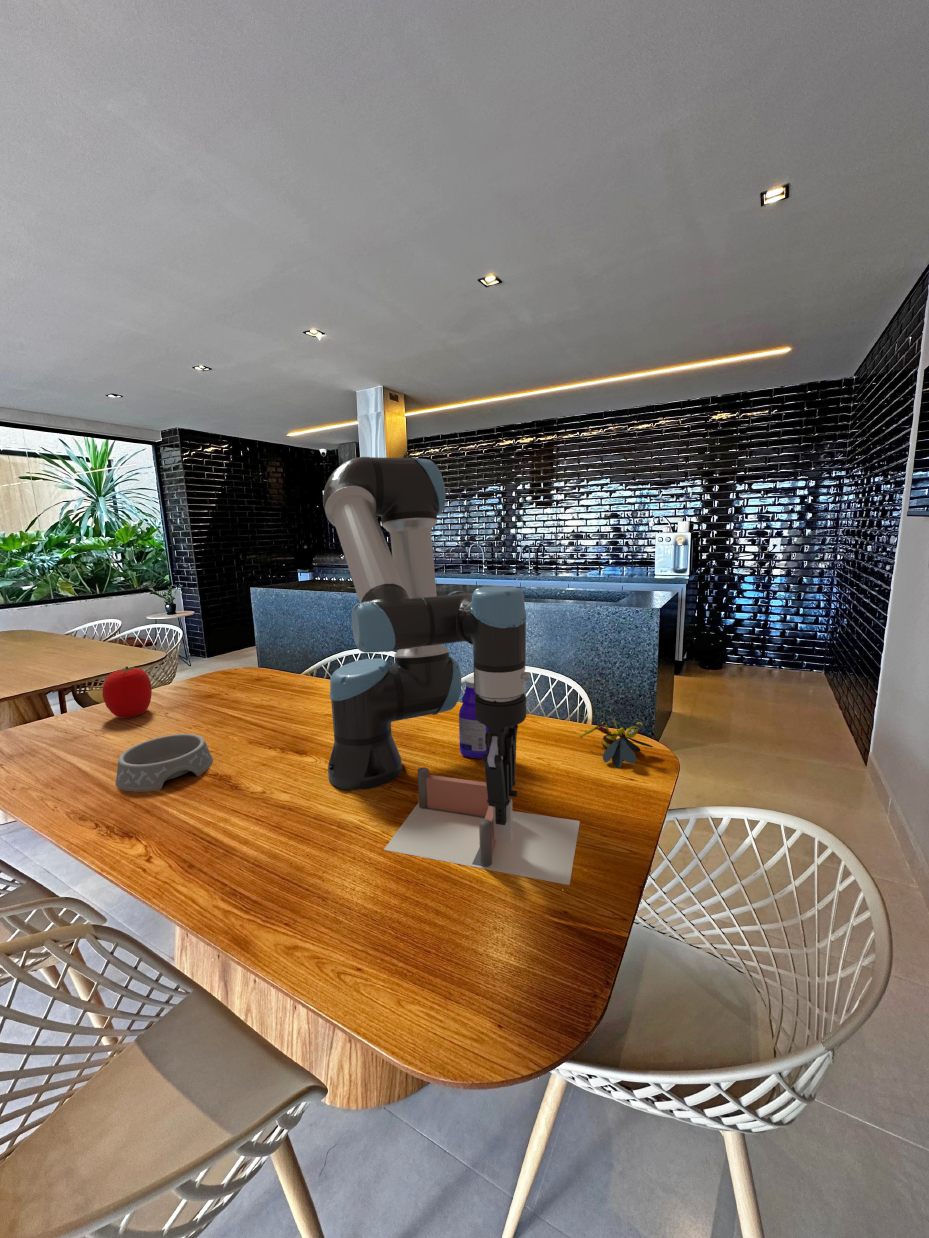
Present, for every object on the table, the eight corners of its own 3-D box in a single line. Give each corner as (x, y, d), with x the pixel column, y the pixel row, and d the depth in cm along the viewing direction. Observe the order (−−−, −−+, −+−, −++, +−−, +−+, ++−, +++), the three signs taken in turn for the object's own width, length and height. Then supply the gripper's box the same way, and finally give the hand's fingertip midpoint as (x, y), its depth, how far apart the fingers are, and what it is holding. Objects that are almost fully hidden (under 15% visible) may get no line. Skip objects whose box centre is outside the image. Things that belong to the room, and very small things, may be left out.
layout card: (383, 851, 80) (383, 849, 80) (422, 799, 95) (422, 796, 95) (569, 887, 71) (569, 884, 71) (579, 823, 86) (579, 820, 86)
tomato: (137, 723, 136) (129, 672, 134) (95, 724, 137) (87, 673, 134) (165, 706, 149) (158, 660, 146) (127, 707, 149) (119, 660, 146)
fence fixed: (417, 807, 92) (415, 771, 90) (421, 801, 94) (420, 766, 92) (503, 821, 87) (503, 783, 85) (506, 814, 89) (505, 778, 87)
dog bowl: (106, 774, 109) (102, 751, 108) (196, 745, 122) (193, 724, 121) (128, 802, 97) (124, 776, 96) (225, 767, 111) (222, 744, 110)
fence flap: (492, 819, 87) (492, 784, 86) (503, 821, 86) (502, 785, 85) (479, 865, 75) (478, 825, 74) (490, 867, 75) (490, 826, 74)
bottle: (495, 750, 114) (494, 676, 111) (488, 762, 109) (486, 684, 106) (465, 746, 117) (462, 674, 113) (456, 757, 112) (454, 682, 108)
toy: (591, 707, 119) (654, 716, 109) (594, 740, 120) (656, 753, 110) (565, 722, 111) (631, 734, 101) (568, 758, 112) (633, 773, 102)
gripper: (516, 711, 67) (518, 869, 71) (533, 680, 79) (534, 817, 83) (462, 707, 69) (467, 860, 73) (486, 677, 81) (490, 811, 86)
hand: (503, 837), depth 78 cm, fingers closed
